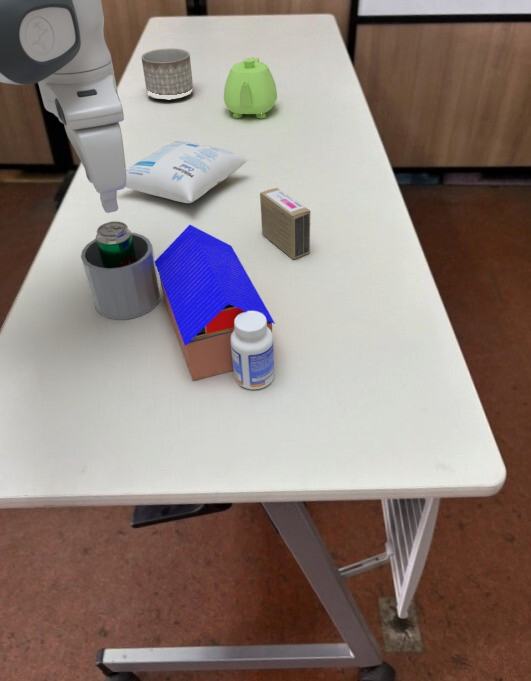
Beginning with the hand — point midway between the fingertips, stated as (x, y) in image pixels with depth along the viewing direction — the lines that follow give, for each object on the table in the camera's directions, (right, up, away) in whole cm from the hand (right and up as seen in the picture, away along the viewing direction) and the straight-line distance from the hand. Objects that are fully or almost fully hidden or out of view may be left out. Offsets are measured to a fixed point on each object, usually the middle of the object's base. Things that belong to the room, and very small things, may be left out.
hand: (102, 194), depth 78 cm
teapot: (+18, +39, +70) cm, 82 cm away
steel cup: (+1, -13, +12) cm, 18 cm away
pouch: (+6, +11, +39) cm, 41 cm away
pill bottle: (+21, -25, -1) cm, 32 cm away
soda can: (+1, -13, +12) cm, 18 cm away
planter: (-4, +47, +80) cm, 93 cm away
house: (+15, -18, +7) cm, 24 cm away
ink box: (+26, -3, +23) cm, 34 cm away
